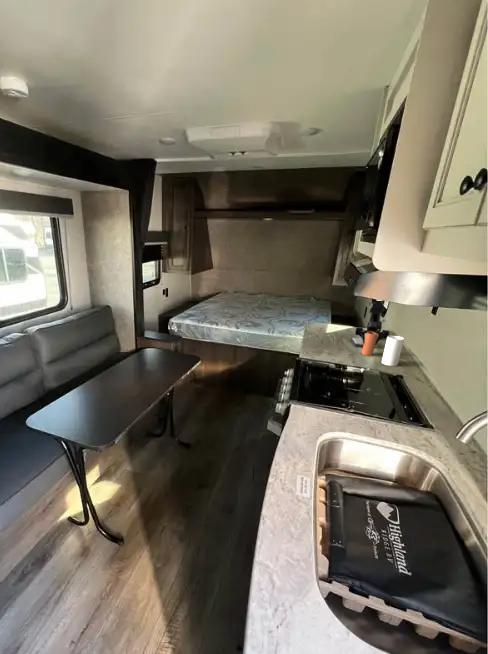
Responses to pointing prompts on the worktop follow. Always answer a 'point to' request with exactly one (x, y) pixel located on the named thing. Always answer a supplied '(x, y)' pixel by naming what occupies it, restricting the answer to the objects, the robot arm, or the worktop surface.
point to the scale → (357, 342)
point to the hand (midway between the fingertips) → (369, 344)
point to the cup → (392, 350)
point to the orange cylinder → (369, 343)
